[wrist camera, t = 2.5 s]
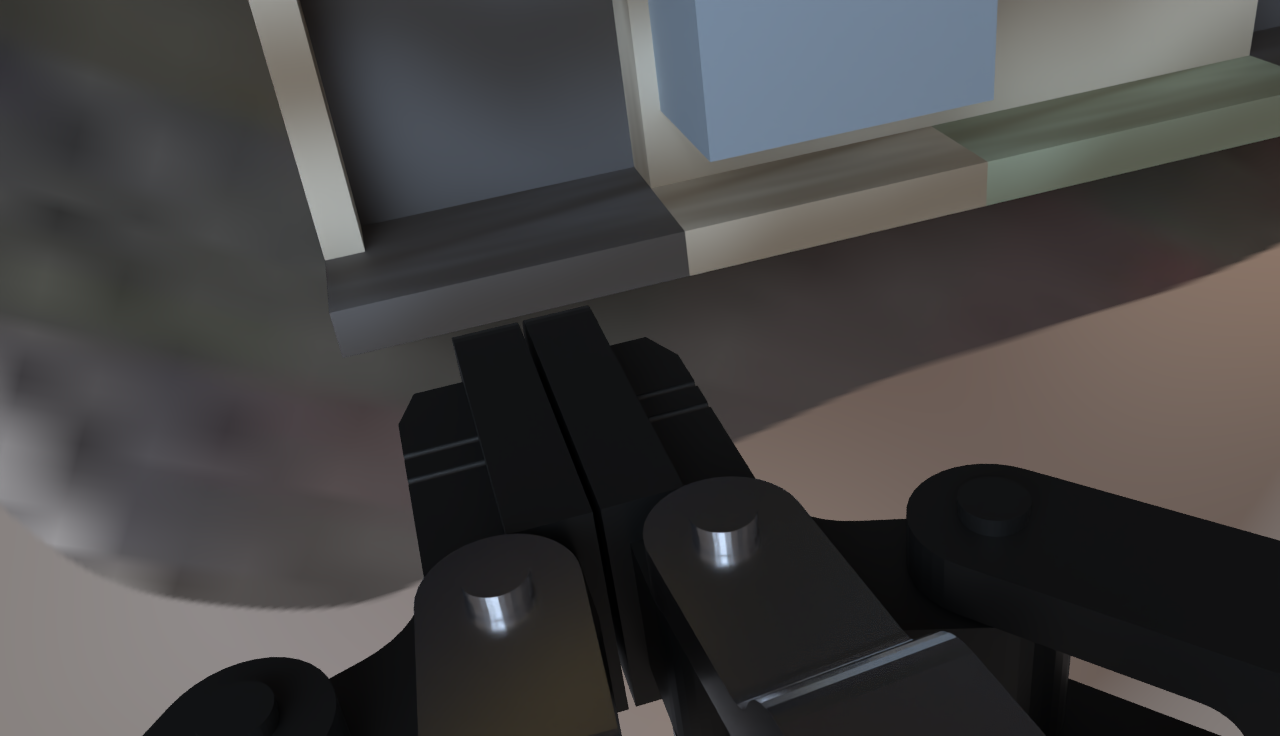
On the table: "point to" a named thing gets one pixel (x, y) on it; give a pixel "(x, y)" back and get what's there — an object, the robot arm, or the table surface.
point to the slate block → (815, 66)
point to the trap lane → (670, 164)
